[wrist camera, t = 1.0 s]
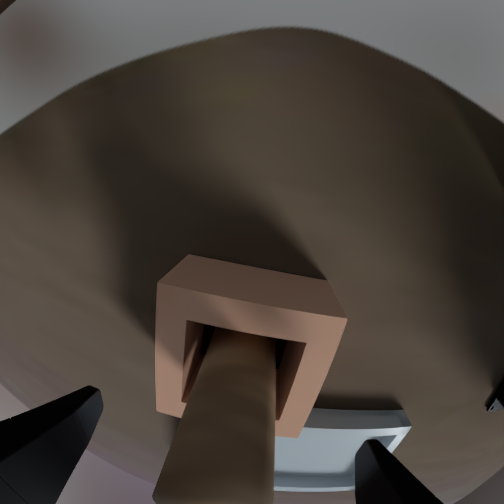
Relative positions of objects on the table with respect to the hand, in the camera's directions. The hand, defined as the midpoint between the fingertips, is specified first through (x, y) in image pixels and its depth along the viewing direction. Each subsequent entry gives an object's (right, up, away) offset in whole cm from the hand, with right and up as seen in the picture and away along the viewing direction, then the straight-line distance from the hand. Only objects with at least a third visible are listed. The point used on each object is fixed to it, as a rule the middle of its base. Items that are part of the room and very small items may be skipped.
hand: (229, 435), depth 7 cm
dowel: (0, +2, +7) cm, 7 cm away
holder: (0, +2, +7) cm, 7 cm away
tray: (+4, -8, +9) cm, 13 cm away
